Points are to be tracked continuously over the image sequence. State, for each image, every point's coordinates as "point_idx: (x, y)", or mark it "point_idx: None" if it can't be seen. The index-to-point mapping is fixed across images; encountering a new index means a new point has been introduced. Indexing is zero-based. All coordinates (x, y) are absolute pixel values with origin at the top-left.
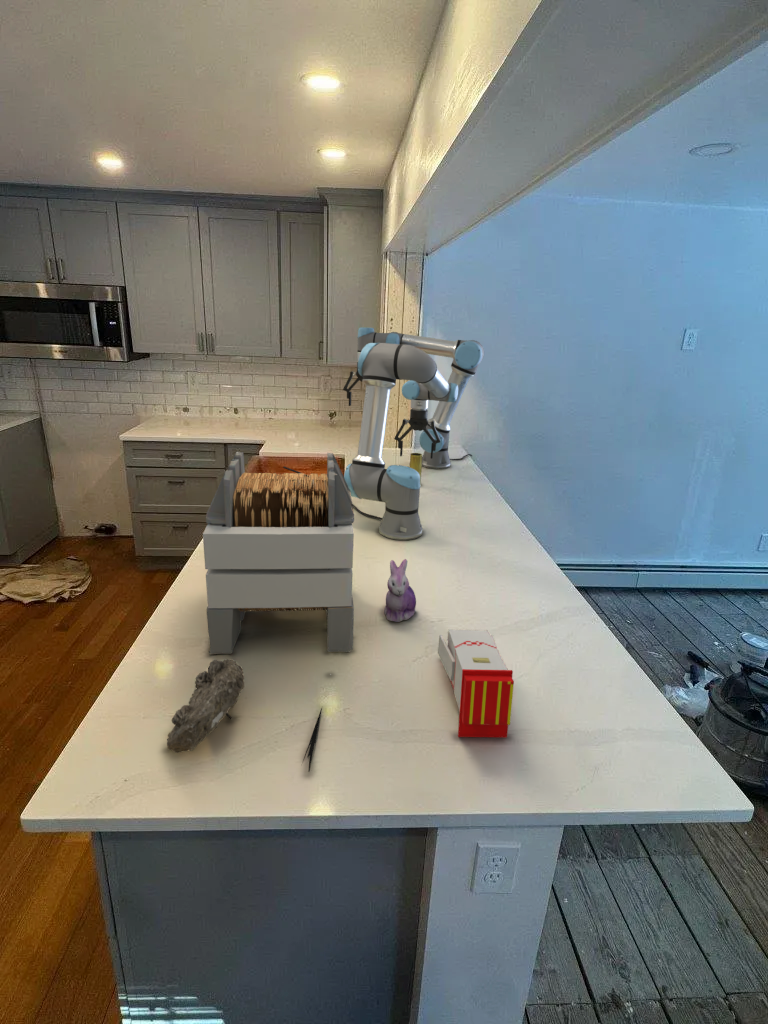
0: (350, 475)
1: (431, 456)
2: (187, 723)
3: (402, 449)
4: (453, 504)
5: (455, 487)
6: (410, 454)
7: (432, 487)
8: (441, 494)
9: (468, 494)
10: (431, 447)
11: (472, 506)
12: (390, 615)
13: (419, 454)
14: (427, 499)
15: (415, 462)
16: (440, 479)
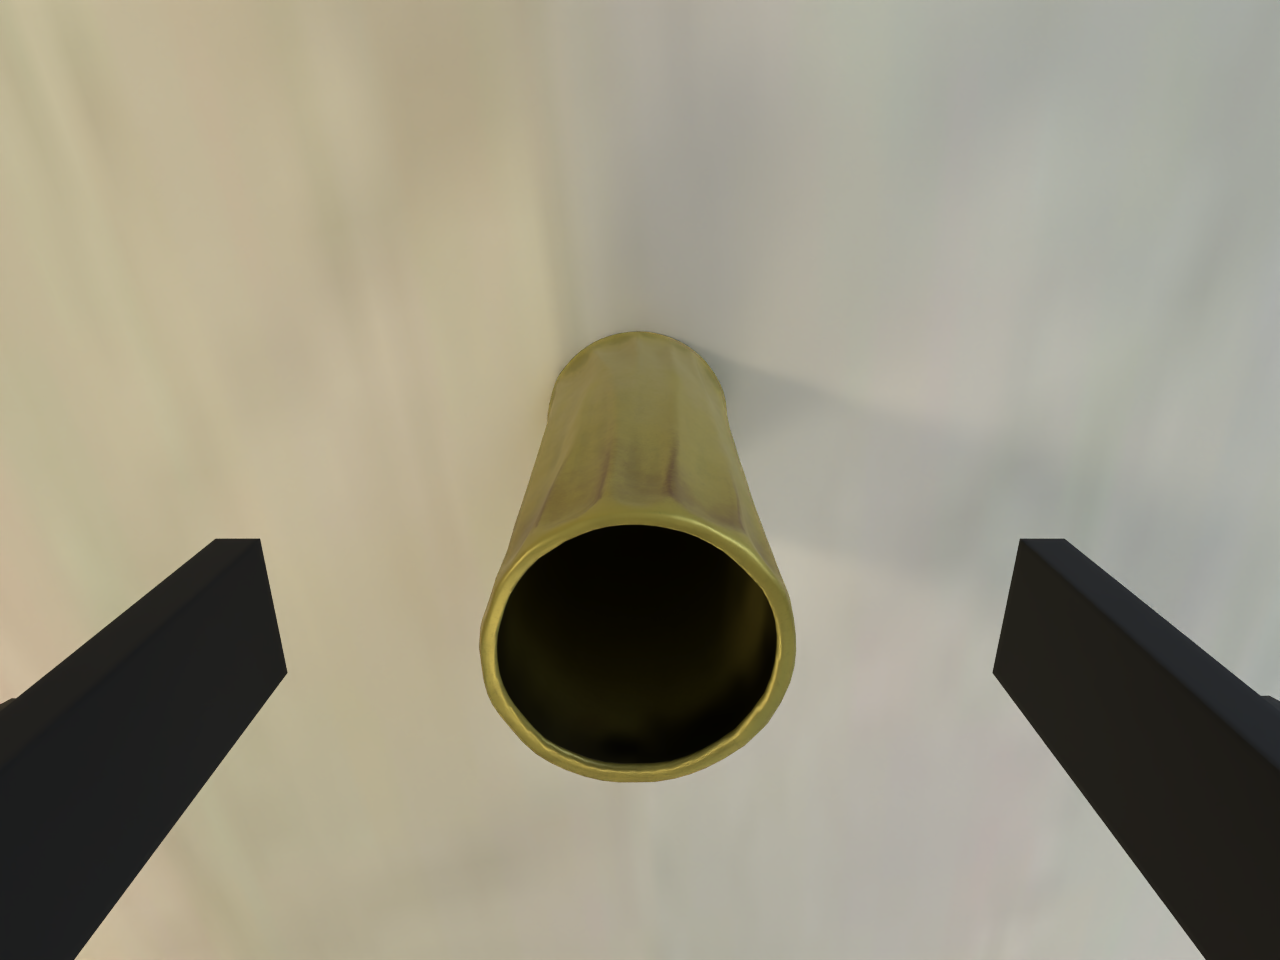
0: None
1: (1037, 703)
2: None
3: (174, 638)
4: (1035, 906)
5: (1183, 382)
6: (480, 639)
7: (873, 461)
8: (957, 681)
9: (1274, 612)
10: (1186, 924)
11: None
12: None
13: (718, 531)
14: (801, 844)
15: (638, 673)
16: (1032, 6)
